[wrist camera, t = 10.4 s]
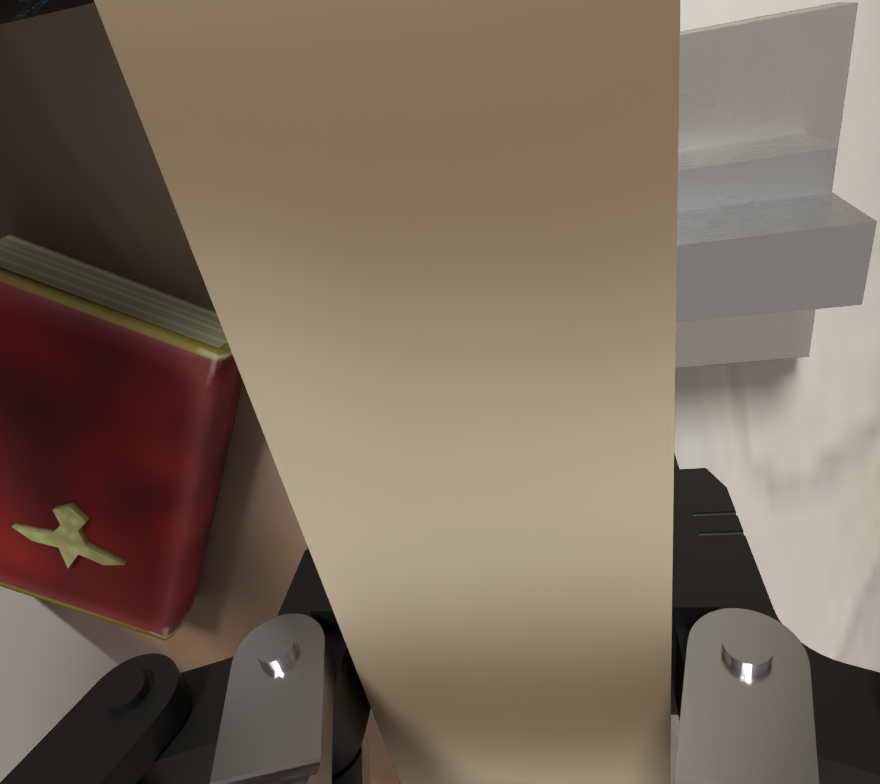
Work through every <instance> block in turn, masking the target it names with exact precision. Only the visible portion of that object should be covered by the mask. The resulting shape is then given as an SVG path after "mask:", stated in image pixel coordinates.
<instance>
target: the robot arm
mask: <svg viewBox="0 0 880 784" xmlns="http://www.w3.org/2000/svg"><path fill="white" fill-rule="evenodd" d="M370 709H371V706H370V704H369V701H368V699H367V696H366V694H365V691H364V688H363V686H362V683H361V681H360V678H359V676H358V673H357V671H356V668H355V666H354V663H353V660H352V658H351V655H350V653H349V650H348V648H347V645H346V643H345V640H344V637H343V635H342V632H341V630H340V627H339V625H338V622H337V620H336V617H335V614H334V612H333V609H332V607H331V604H330V602H329V599H328V597H327V594H326V592H325V589H324V586H323V584H322V581H321V579H320V576H319V574H318V571H317V569H316V566H315V563H314V561H313V558H312V556H311V553H310V551H309V548H308V549H307V550H305V552H304V554H303V557H302V559H301V562H300V564H299V566H298V569H297V571H296V573H295V576H294V578H293V581H292V583H291V585H290V588H289V590H288V592H287V595H286V597H285V600H284V602H283V604H282V607H281V609H280V611H279V614H278V616H277V617H274V618H272V619H269V620H267V621H265V622H264V623H262V624H260V625H259V626H258V627H256V628H255V629H253V630H252V631H251V632H250V633H249V634H248V635H247V636H246V637H245V638H244V640H243V641H242V642H241V644H240V645H239V647H238V648H237V650H236V652H235V654H234V656H233V657H231V658H228V659H225V660H222V661H219V662H216V663H212V664H209V665H206V666H202V667H199V668H196V669H192V670H189V671H186V672H182V673H180V671H179V669H178V668H177V666H176V665H175V663H174V662H173V661H172V660H171V659H170V658H169V657H167V656H165V655H161V654H145V655H140V656H137V657H134V658H132V659H129V660H127V661H125V662H123V663H121V664H120V665H118V666H117V667H115V668H114V669H112V670H111V671H110V672H108V673H107V674H106V675H105V676H103V677H102V678H101V679H100V680H99V681H98V682H97V683H96V684H95V685H94V686H93V687H92V688H91V690H89V692H88V693H87V694H86V695H85V696H84V697H83V698H82V699H81V700H80V701H79V702H78V703H77V704H76V705H75V706H74V707H73V708H72V709H71V710H70V711H69V712H68V713H67V714H66V715H65V716H64V718H63V719H61V721H60V722H59V723H58V724H57V725H56V726H55V727H54V728H53V729H52V730H51V731H50V732H49V733H48V734H47V735H46V736H45V737H44V738H43V739H42V740H41V741H40V742H39V743H38V744H37V745H36V746H35V747H34V748H33V750H31V751H30V753H29V754H28V755H27V756H26V757H25V758H24V759H23V760H22V761H21V762H20V763H19V764H18V765H17V766H16V767H15V768H14V769H13V770H12V771H11V772H10V773H9V774H8V775H7V776H6V777H5V778H4V779H3V781H1V783H0V784H370V769H369V745H368V740H367V737H366V734H365V730H366V726H367V721H368V717H369V713H370ZM671 715H679V720H680V723H679V734H678V744H677V754H676V764H675V774H674V783H673V784H880V673H879V672H876V671H872V670H868V669H864V668H860V667H856V666H853V665H849V664H845V663H842V662H839V661H836V660H833V659H830V658H828V657H826V656H823V655H821V654H819V653H817V652H815V651H814V650H812V649H810V648H808V647H807V646H805V645H804V644H803V643H801V642H800V640H799V639H798V638H797V637H796V636H795V635H794V633H793V632H791V631H790V630H789V629H788V628H787V627H786V626H784V625H783V624H782V623H781V622H780V620H779V619H778V617H777V615H776V613H775V611H774V609H773V606H772V604H771V601H770V599H769V596H768V593H767V591H766V588H765V586H764V583H763V580H762V578H761V575H760V573H759V570H758V568H757V565H756V562H755V560H754V557H753V555H752V552H751V549H750V547H749V544H748V542H747V539H746V537H745V536H744V534H743V529H742V526H741V524H740V521H739V518H738V516H736V511H735V508H734V506H733V503H732V500H731V498H730V495H729V493H728V490H727V487H725V486H724V485H723V484H722V483H721V482H720V481H719V480H718V479H717V478H716V477H715V476H714V475H713V474H711V473H710V472H709V471H708V470H707V469H706V468H698V469H680V470H679V467H678V464H677V460H676V457H675V454H674V500H673V574H672V648H671Z"/></svg>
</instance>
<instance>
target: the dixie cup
mask: <svg viewBox="0 0 880 784" xmlns="http://www.w3.org/2000/svg"><path fill="white" fill-rule="evenodd" d="M92 2H94V0H0V24H3V23H7V22H12V21H16V20H20V19H25V18H29V17H33V16H38V15H42V14H46V13H51V12H55V11H59V10H64V9H68V8H72V7H77V6H81V5H85V4H89V3H92Z"/></svg>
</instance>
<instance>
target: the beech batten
mask: <svg viewBox="0 0 880 784" xmlns="http://www.w3.org/2000/svg"><path fill="white" fill-rule="evenodd" d="M94 2H95V5H96V7H97V10H98V12H99V15H100V17H101V20H102V22H103V25H104V28H105V30H106V33H107V35H108V38H109V40H110V43H111V45H112V48H113V50H114V53H115V56H116V58H117V61H118V63H119V66H120V68H121V71H122V73H123V76H124V79H125V81H126V84H127V86H128V89H129V91H130V94H131V96H132V99H133V102H134V104H135V107H136V109H137V112H138V114H139V117H140V119H141V122H142V124H143V127H144V130H145V132H146V135H147V137H148V140H149V142H150V145H151V147H152V150H153V153H154V155H155V158H156V160H157V163H158V165H159V168H160V170H161V173H162V176H163V178H164V181H165V183H166V186H167V188H168V191H169V193H170V196H171V198H172V201H173V204H174V206H175V209H176V211H177V214H178V216H179V219H180V221H181V224H182V227H183V229H184V232H185V234H186V237H187V239H188V242H189V244H190V247H191V250H192V252H193V255H194V257H195V260H196V262H197V265H198V267H199V270H200V273H201V275H202V278H203V280H204V283H205V285H206V288H207V290H208V293H209V295H210V298H211V301H212V303H213V306H214V308H215V311H216V313H217V316H218V318H219V321H220V324H221V326H222V329H223V331H224V334H225V336H226V339H227V341H228V344H229V347H230V349H231V352H232V354H233V357H234V359H235V362H236V364H237V367H238V369H239V372H240V375H241V377H242V380H243V382H244V385H245V387H246V390H247V392H248V395H249V398H250V400H251V403H252V405H253V408H254V410H255V413H256V415H257V418H258V421H259V423H260V426H261V428H262V431H263V433H264V436H265V438H266V441H267V443H268V446H269V449H270V451H271V454H272V456H273V459H274V461H275V464H276V466H277V469H278V472H279V474H280V477H281V479H282V482H283V484H284V487H285V489H286V492H287V495H288V497H289V500H290V502H291V505H292V507H293V510H294V512H295V515H296V517H297V520H298V523H299V525H300V528H301V530H302V533H303V535H304V538H305V540H306V543H307V546H308V548H309V551H310V553H311V556H312V558H313V561H314V563H315V566H316V569H317V571H318V574H319V576H320V579H321V581H322V584H323V586H324V589H325V592H326V594H327V597H328V599H329V602H330V604H331V607H332V609H333V612H334V614H335V617H336V620H337V622H338V625H339V627H340V630H341V632H342V635H343V637H344V640H345V643H346V645H347V648H348V650H349V653H350V655H351V658H352V660H353V663H354V666H355V668H356V671H357V673H358V676H359V678H360V681H361V683H362V686H363V688H364V691H365V694H366V696H367V699H368V701H369V704H370V706H371V709H372V711H373V714H374V717H375V719H376V722H377V724H378V727H379V729H380V732H381V734H382V737H383V740H384V742H385V745H386V747H387V750H388V752H389V755H390V757H391V760H392V762H393V765H394V768H395V770H396V773H397V775H398V778H399V780H400V783H401V784H670V722H671V648H672V574H673V500H674V426H675V352H676V278H677V204H678V130H679V56H680V0H94Z"/></svg>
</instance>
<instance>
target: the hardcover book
mask: <svg viewBox="0 0 880 784" xmlns="http://www.w3.org/2000/svg"><path fill="white" fill-rule="evenodd" d="M241 385H242V377H241V375H240V372H239V369H238V367H237V364H236V362H235V359H234V357H233V354H232V352H231V349H230V347H229V344H228V341H227V339H226V336H225V334H224V331H223V329H222V326H221V324H220V321H219V318H218V316H217V313H216V312H214V311H212V310H209V309H206V308H204V307H201V306H199V305H196V304H193V303H191V302H188V301H185V300H183V299H180V298H177V297H175V296H172V295H169V294H167V293H164V292H161V291H159V290H156V289H153V288H151V287H148V286H146V285H143V284H140V283H138V282H135V281H132V280H130V279H127V278H124V277H122V276H119V275H116V274H114V273H111V272H108V271H106V270H103V269H101V268H98V267H95V266H93V265H90V264H87V263H85V262H82V261H79V260H77V259H74V258H71V257H69V256H66V255H63V254H61V253H58V252H56V251H53V250H50V249H48V248H45V247H42V246H40V245H37V244H34V243H32V242H29V241H26V240H24V239H21V238H18V237H16V236H13V235H7V236H5V237H3V238H1V239H0V586H2V587H5V588H8V589H11V590H14V591H17V592H20V593H23V594H26V595H29V596H32V597H35V598H38V599H41V600H44V601H47V602H50V603H53V604H56V605H59V606H62V607H65V608H68V609H71V610H74V611H78V612H81V613H84V614H87V615H90V616H93V617H96V618H99V619H102V620H105V621H108V622H111V623H114V624H117V625H120V626H123V627H126V628H129V629H132V630H135V631H138V632H141V633H144V634H147V635H150V636H153V637H156V638H159V639H162V640H165V641H166V640H167V639H169V638H170V637H172V636H173V635H174V634H175V632H176V631H177V630H178V629H179V628H180V626H181V625H182V624H183V622H184V620H185V619H186V617H187V616H188V614H189V612H190V610H191V608H192V606H193V603H194V600H195V597H196V593H197V588H198V584H199V579H200V574H201V570H202V565H203V560H204V556H205V551H206V547H207V542H208V537H209V533H210V528H211V523H212V519H213V514H214V510H215V505H216V500H217V496H218V491H219V487H220V482H221V477H222V473H223V468H224V463H225V459H226V454H227V450H228V445H229V440H230V436H231V431H232V426H233V422H234V417H235V413H236V408H237V403H238V399H239V394H240V389H241Z"/></svg>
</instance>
